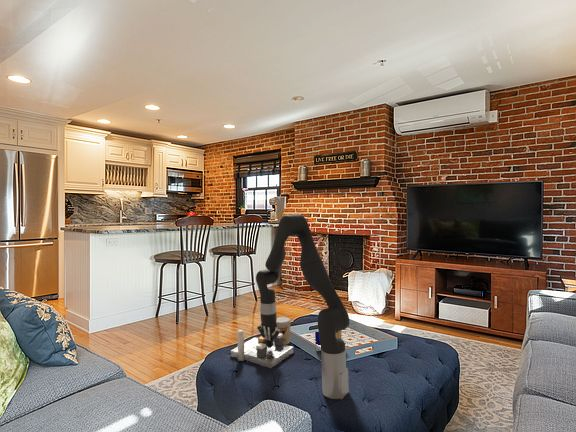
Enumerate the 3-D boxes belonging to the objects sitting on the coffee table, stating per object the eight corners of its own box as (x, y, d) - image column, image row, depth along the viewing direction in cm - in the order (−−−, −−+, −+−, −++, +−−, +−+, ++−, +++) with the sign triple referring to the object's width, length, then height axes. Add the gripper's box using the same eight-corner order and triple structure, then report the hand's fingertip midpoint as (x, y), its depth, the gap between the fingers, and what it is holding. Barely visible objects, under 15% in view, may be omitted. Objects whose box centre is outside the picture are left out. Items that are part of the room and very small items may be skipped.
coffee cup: (270, 344, 189) (269, 321, 188) (277, 337, 198) (276, 315, 197) (288, 346, 186) (287, 323, 185) (293, 339, 195) (292, 317, 194)
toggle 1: (267, 347, 178) (266, 337, 178) (263, 350, 175) (262, 339, 175) (262, 346, 180) (261, 335, 179) (258, 348, 177) (257, 338, 177)
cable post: (247, 359, 173) (245, 330, 172) (242, 362, 170) (240, 332, 169) (241, 357, 175) (239, 329, 174) (236, 360, 172) (234, 331, 171)
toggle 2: (266, 355, 169) (265, 344, 169) (262, 358, 167) (261, 346, 167) (260, 353, 171) (260, 342, 171) (256, 356, 169) (256, 345, 168)
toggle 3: (283, 344, 181) (283, 333, 181) (279, 346, 179) (279, 336, 178) (278, 343, 183) (277, 332, 182) (274, 345, 180) (274, 334, 180)
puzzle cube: (315, 351, 179) (314, 331, 179) (323, 343, 188) (322, 324, 188) (334, 355, 175) (334, 334, 174) (342, 347, 183) (341, 327, 183)
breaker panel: (293, 352, 179) (293, 346, 178) (271, 368, 164) (271, 361, 164) (254, 343, 192) (254, 337, 192) (231, 356, 177) (230, 350, 177)
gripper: (284, 311, 173) (285, 347, 175) (262, 307, 181) (263, 341, 182) (275, 315, 167) (276, 353, 168) (252, 311, 175) (254, 347, 176)
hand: (269, 347), depth 175 cm, fingers closed
